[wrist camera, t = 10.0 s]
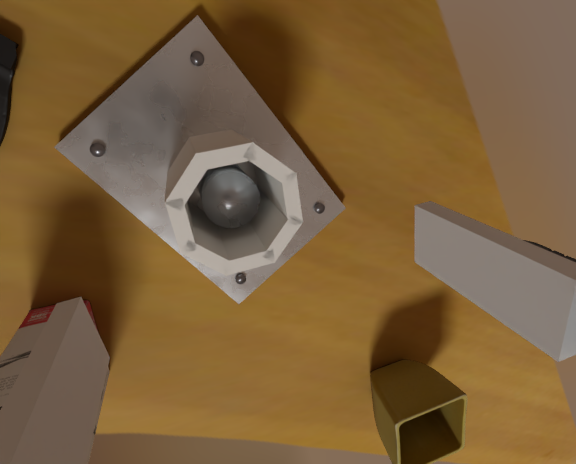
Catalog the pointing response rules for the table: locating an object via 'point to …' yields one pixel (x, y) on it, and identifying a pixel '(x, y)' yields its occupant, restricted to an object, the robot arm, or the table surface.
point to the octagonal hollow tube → (245, 239)
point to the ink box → (9, 365)
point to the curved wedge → (6, 80)
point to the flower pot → (417, 412)
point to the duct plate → (174, 134)
